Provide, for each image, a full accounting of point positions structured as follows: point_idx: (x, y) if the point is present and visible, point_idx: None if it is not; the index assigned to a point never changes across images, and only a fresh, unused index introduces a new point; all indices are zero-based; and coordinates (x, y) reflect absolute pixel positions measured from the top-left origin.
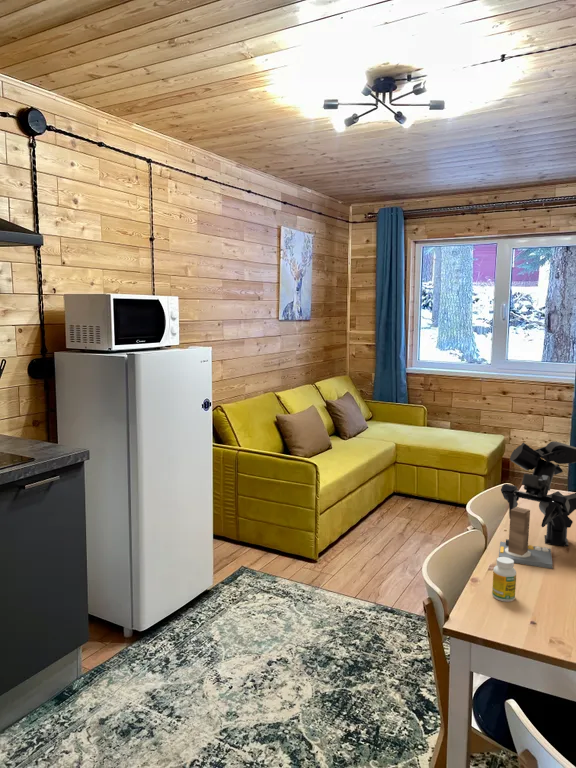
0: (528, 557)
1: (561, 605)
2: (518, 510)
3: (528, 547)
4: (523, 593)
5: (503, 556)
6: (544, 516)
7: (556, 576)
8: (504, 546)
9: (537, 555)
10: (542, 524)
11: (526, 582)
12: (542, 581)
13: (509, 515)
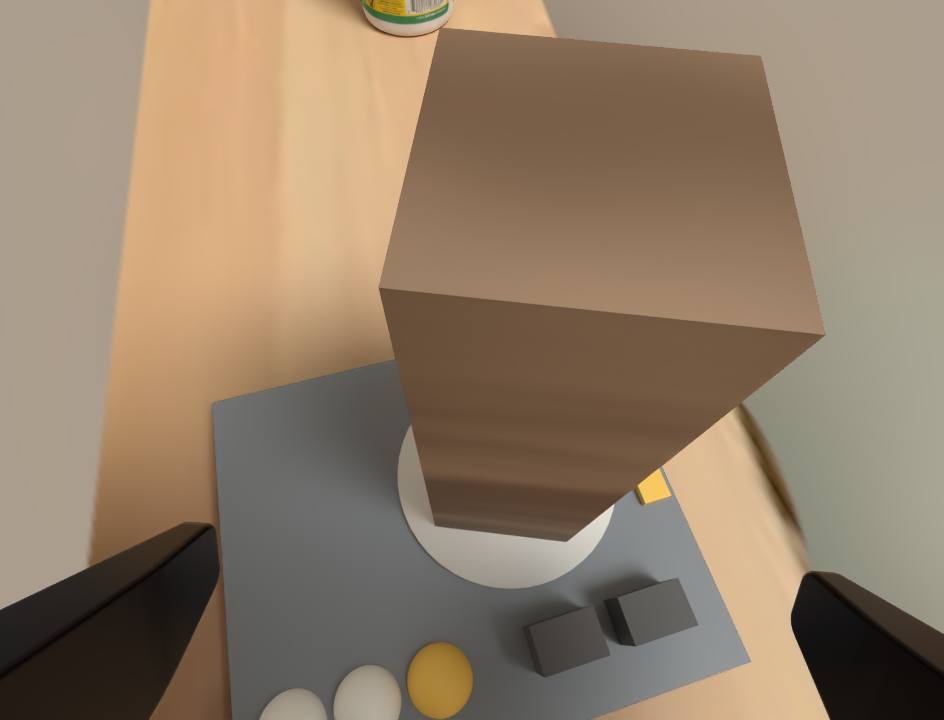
0: (403, 426)
1: (177, 57)
2: (612, 97)
3: (455, 651)
4: (342, 66)
5: None
6: (46, 634)
7: (196, 313)
8: (652, 540)
9: (345, 518)
10: (185, 525)
11: (351, 157)
12: (274, 208)
13: (869, 591)
